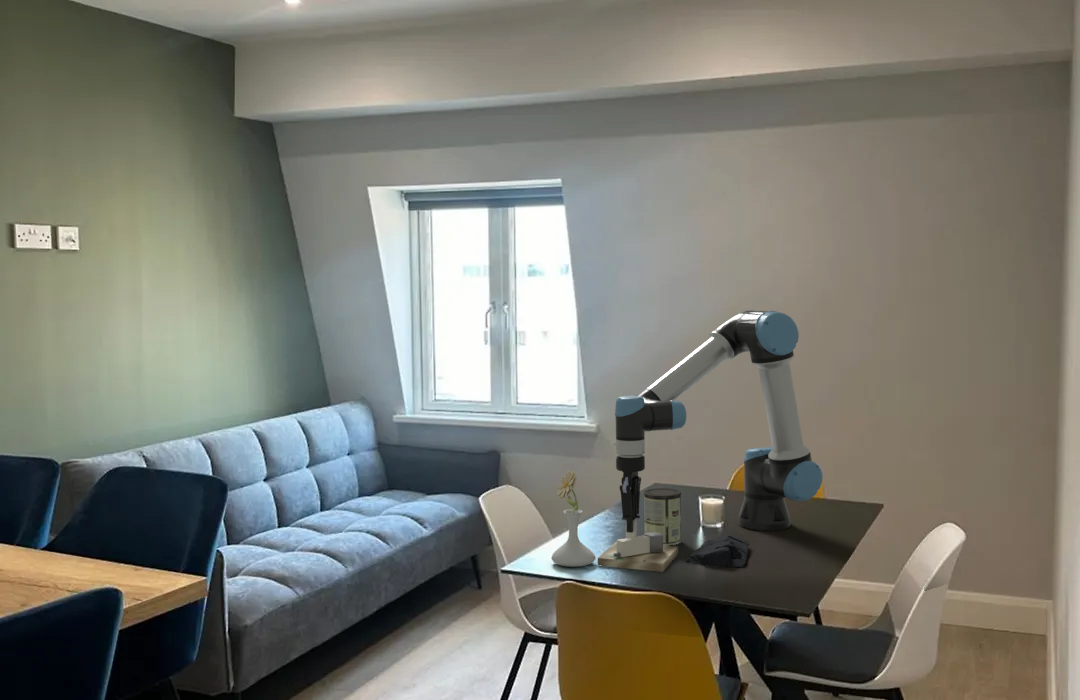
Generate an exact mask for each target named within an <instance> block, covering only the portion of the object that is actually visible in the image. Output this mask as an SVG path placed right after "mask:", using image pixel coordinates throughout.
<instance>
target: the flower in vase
mask: <svg viewBox="0 0 1080 700" xmlns="http://www.w3.org/2000/svg"><path fill="white" fill-rule="evenodd" d="M577 478H578V477H577V474H576V471H575V470H572V471H571V470H568V471H567V472H566V473H565V475H562V476H561V480H560V481H559V484H558V485H557V489H558V490H557V493H556V497H558V500H563V499H565V498H566V501H567V503H568V504H569V505H571V507H573V509H565V510H563V513H564V516H565V517H566V520H567V523H568V524H567V525H568V538H567V540H566V542H564V543H563V544H562V545H561V546H559V548H557V549H556V550H555V551H554V552H553V553H552V555H551V560H552V562H553V563H554V564H557V565H559V566H562V567H568V568H569V567H570V568H575V567H577V568H579V567H585V566H588V565H590V564H593V563H594V562H595V560H596V559H597V558H596V555H595V553H594V552H593V551H592V550H591V549H590V548H588V547H587V546H586V545H585V544H583V542H581V541H580V538H579V535H578V534H579V532H578V527H579V521H580V518H581V515H582V514H583V513H584V511H583V510H581V509H579V500H577V496H576V493H575V492H574V488H575V486H576V485H575V484H576V482H577ZM571 492H572V495H573V497H574V500H573V498H571V496H570V493H571Z"/></svg>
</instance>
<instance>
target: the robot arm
mask: <svg viewBox="0 0 1080 700" xmlns="http://www.w3.org/2000/svg"><path fill="white" fill-rule="evenodd" d="M799 335H800V334H799V329H798V326H797V324H796V322H795V321H794V319H793V318H792V317H791V316H789V315H788V314H786V313H783V312H779V311H775V310H745V311H741V312H739V313H736V314H735V315H734V316H731V318H729V319H728V320H726V321H724V322H723V323H722V324H721V325H718V327H717V328H715V329H714V330H713V331H712V332H711V333H710V334H709V337H708V338H709V339H707V340H706V341H704V342H703V343H702V344H701V345H700V346H698V347H697V348H696V349H695V350H693V351H692V352H691V353H690V354H688V355H687V356H686V357H684V358H683V359H682V360H681V361H679V362H678V363H677V364H676V365H674V366H673V367H672V368H671V369H670V370H668V371H667V372H666V373H664V374H663V375H662V376H660V378H658V379H657V380H655V382H653V383H652V384H650V386H648V387H647V388H646V389H644V390H643V391H641V393H639V394H637V395H636V394H634V395H622V396H619V397H618V398H617V399H616V400H615V411H614V416H615V441H614V443H613V445H614V446H616V447H615V448H616V449H615V453H616V454H617V456H616V457H615V468H616V470H617V471H619V472H622V473H623V474H622V477H621V485H619V491H620V492H619V493H620V500H621V501H620V502H621V509H622V511H621V512H622V518H621V520H624V521H625V522H624V523H625V525H624V526H625V527H624V528H625V529H624V530H625V532H624V533H625V538H630V537H636V536H638V529H637V528H638V526H637V525H638V522H637V520H638V519H640V517H641V516H640V515H639V514H640V501H641V499H640V498H641V497H640V496H641V493H640V492H641V483H642V477H641V476H640V475H639V472H642V471H644V470H645V469H646V466H645V465H646V464H645V463H646V460H645V459H646V456H645V454H646V449H645V448H646V447H645V446H646V444H645V440H646V439H645V438H646V437H645V436H646V435H645V434H646V433H645V432H652V431H653V432H654V431H666V430H667V431H668V430H669V431H673V430H677V429H681V428H683V427H684V426H685V425H686V421H687V409H686V407H685V405H684V404H683V403H682V402H681V401H679V400H677V399H678V398H679V397H681V396H682V395H683V394H684V393H686V392H687V391H688V390H690V389H691V388H692V387H693V386H694V385H696V384H697V383H698V382H699V381H700V380H702V379H703V378H704V377H706V376H707V375H709V373H711V372H712V371H713V370H715V369H716V368H717V367H718V366H719V365H721V364H722V363H724V362H725V361H726V360H728V361H729V360H730V361H731V360H733V359H734V358H735V357H736V356H738V355H740V354H743V353H747V352H749V355H750V360H751V364H753V366H756V367H757V369H758V374H759V379H760V385H761V392H762V396H763V402H764V408H765V414H766V415H765V416H766V419H767V426H768V431H769V435H770V436H769V438H770V442H771V447H756V448H755V447H754V448H749V449H747V450H745V453H744V459H743V464H744V466H743V467H744V472H743V473H744V475H743V476H744V478H743V481H744V484H743V485H744V486H743V488H744V490H743V491H744V493H743V494H744V495H743V497H744V499H743V501H742V504H741V507H740V511H739V513H738V517H737V518H738V520H737V521H738V522H737V524H738V523H739V524H740V525H741V526H740V525H739V524H738V525H739V526H740V527H742V526H743V527H742V528H744V527H746V528H745V529H748V528H751V529H750V530H753V529H756V530H755V531H763V530H766V531H767V530H768V531H767V532H771V531H772V530H774V531H781V530H787V529H789V528H790V527H791V526H790V525H792V523H791V516H790V512H789V510H788V507H787V503H786V499H788V500H789V501H795V502H796V501H798V502H806V501H808V500H811V499H813V497H815V496H816V495H817V494H818V491H819V490H820V489H821V487H822V483H823V478H824V477H823V471H822V468H821V467H820V465H818V464H817V463H816V462H815V461H813V460H812V454H811V450H810V448H809V447H808V446H807V445H804V441H803V434H802V429H801V423H800V417H799V412H798V406H797V405H798V404H797V400H796V394H795V389H794V382H793V376H792V372H791V365H790V363H791V361H792V360H793V358H794V356H795V354H794V350H795V349H796V348H797V347H796V346H797V343H798V342H799ZM788 527H789V528H788ZM786 528H787V529H786Z"/></svg>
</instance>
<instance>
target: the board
mask: <svg viewBox="0 0 1080 700" xmlns="http://www.w3.org/2000/svg"><path fill="white" fill-rule="evenodd" d="M614 553H617V547H616V541H615V542H614V543H613V544H612V545H611V546H609V547H608V548H607V549H606V550H605V551H604V552H603V553H601V555H599V556H598V557H597V566H598V565H601V566H600V567H607V566H610V568H617V567H619V568H620V569H629V570H631V569H632V570H640V571H641V570H642V571H650V572H651V571H652V572H653V571H654V572H661V573H663V572H664V571H665V570H666V568H667V567H668V566H669V565H670V564H671V563H672V562H673V561H674V559H676V557H677V556H678V555H679V546H675V545H673V546H663V551H662V552H656V553H652V552H648V553H643V554H638V555H632V556H627V557H614ZM677 554H678V555H677ZM672 560H673V561H672Z"/></svg>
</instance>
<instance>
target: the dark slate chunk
mask: <svg viewBox="0 0 1080 700" xmlns="http://www.w3.org/2000/svg"><path fill="white" fill-rule="evenodd" d="M700 546H701V547H698V548H697V549H694V551H692V553H691V554H690V555H689V556H688V557H687V558H686V560H685V563H689V564H690V563H692V564H691V565H697V564H699V565H698V566H706V565H708V567H713V566H718V567H717V568H734V567H735V568H744V567H745V565H746V562H747V558H748V554H749V546H750V543H749V541H748V540H747V539H744V538H739V537H736V536H732V535H726V536H722V537H721V536H720V537H718V538H713V539H710V540H706V541H704V542H703V543H702V545H700Z"/></svg>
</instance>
